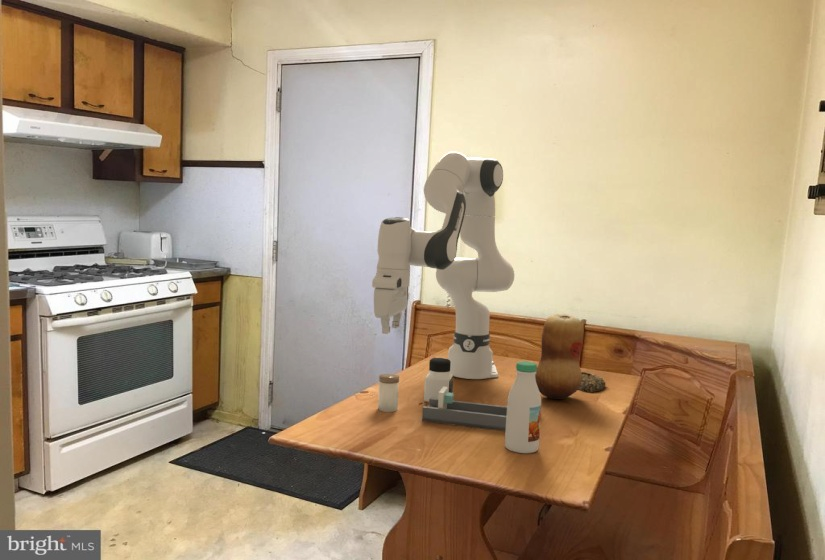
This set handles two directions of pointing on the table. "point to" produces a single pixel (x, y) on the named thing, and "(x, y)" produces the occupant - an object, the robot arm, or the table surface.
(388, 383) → the jar
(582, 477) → the table surface
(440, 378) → the medicine bottle
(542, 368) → the butternut squash
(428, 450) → the table surface
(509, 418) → the milk bottle
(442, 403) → the pusher
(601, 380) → the grey speckled flat mound
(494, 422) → the lane
